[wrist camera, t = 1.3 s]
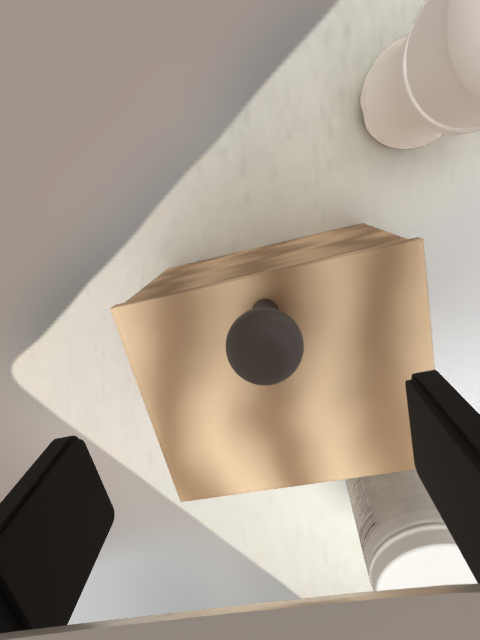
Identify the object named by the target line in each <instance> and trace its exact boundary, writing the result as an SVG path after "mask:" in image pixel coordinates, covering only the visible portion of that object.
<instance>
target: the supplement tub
mask: <svg viewBox="0 0 480 640" xmlns="http://www.w3.org/2000/svg"><path fill="white" fill-rule="evenodd" d="M345 480H346V484H347V488H348V493H349V497H350V501H351V505H352V509H353V513H354V518H355V522H356V526H357V530H358V534H359V538H360V543H361V547H362V551H363V555H364V559H365V563H366V567H367V571H368V575H369V579H370V583H371V586H372V588H373V590H374V591H382V590H394V589H405V588H417V587H428V586H439V585H454V584H478V583H477V581H476V579H475V577H474V575H473V574H472V572H471V570H470V568H469V566H468V565H467V563H466V561H465V559H464V557H463V556H462V554H461V552H460V550H459V548H458V546H457V545H456V543H455V541H454V539H453V537H452V536H451V534H450V532H449V530H448V528H447V527H446V525H445V523H444V521H443V519H442V518H441V516H440V514H439V512H438V510H437V508H436V507H435V505H434V503H433V501H432V499H431V498H430V496H429V494H428V492H427V490H426V489H425V487H424V485H423V483H422V481H421V479H420V478H419V476H418V473H417V471H416V469H415V470H407V471H400V472H393V473H386V474H379V475H371V476H364V477H357V478H350V479H345Z"/></svg>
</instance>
